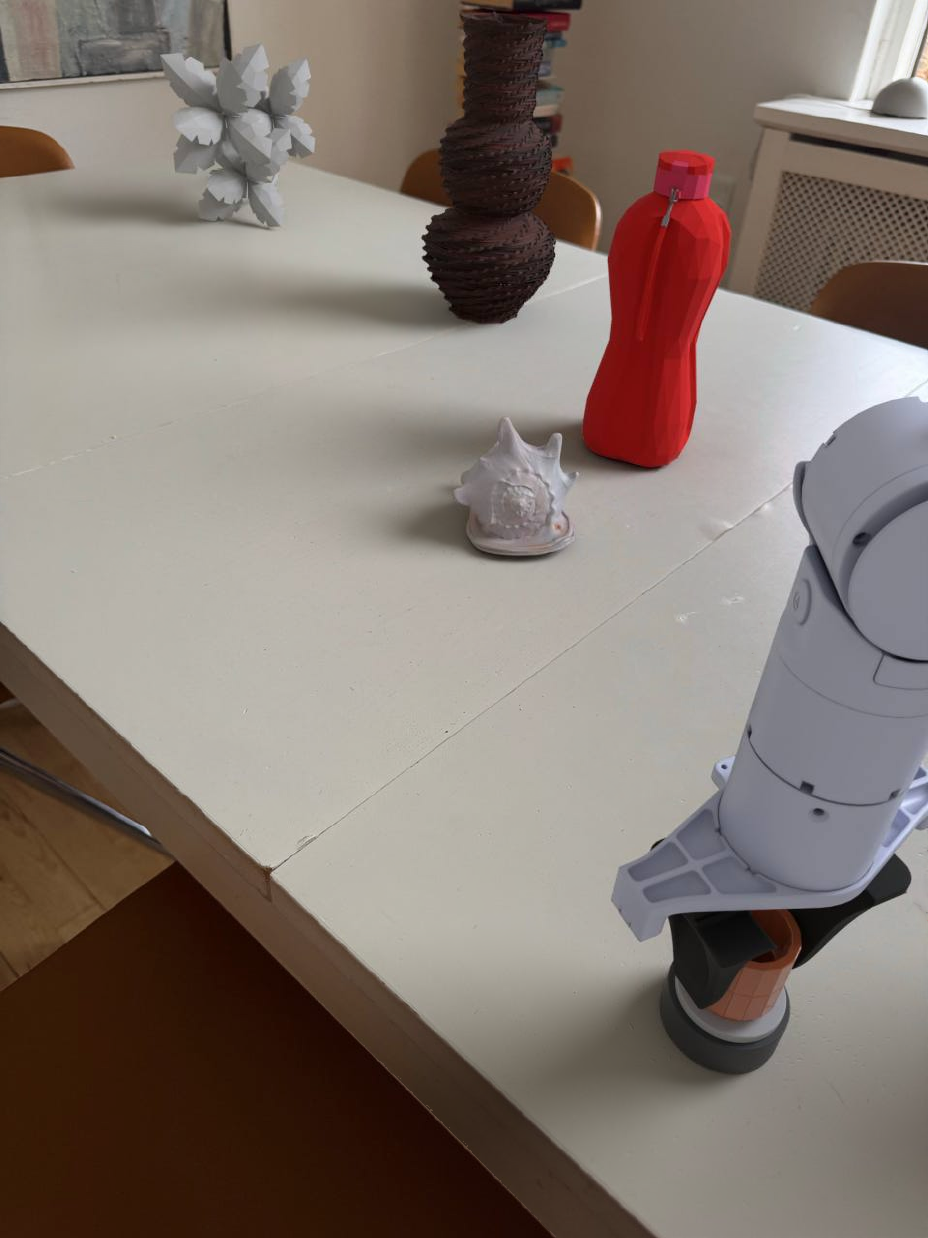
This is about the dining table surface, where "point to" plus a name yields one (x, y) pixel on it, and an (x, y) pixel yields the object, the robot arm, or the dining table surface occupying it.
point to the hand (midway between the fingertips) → (737, 968)
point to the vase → (494, 176)
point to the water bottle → (657, 314)
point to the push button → (721, 1031)
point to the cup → (762, 970)
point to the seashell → (518, 497)
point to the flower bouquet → (239, 129)
